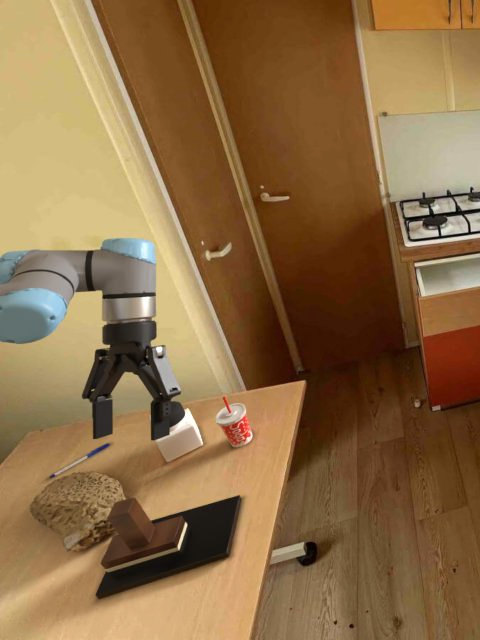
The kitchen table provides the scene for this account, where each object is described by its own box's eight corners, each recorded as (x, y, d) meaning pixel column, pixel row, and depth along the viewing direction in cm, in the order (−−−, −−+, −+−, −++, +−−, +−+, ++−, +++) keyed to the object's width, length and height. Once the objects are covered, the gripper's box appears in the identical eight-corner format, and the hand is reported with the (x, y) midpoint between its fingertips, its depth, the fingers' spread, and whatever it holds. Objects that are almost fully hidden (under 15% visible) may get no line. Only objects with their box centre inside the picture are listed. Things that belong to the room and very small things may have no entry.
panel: (98, 599, 73) (94, 595, 73) (127, 532, 83) (124, 527, 83) (229, 557, 79) (226, 552, 79) (241, 499, 89) (239, 494, 89)
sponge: (144, 521, 86) (114, 454, 96) (121, 509, 81) (91, 440, 90) (64, 581, 79) (39, 502, 88) (33, 572, 74) (10, 489, 83)
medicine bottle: (198, 427, 106) (180, 392, 100) (203, 445, 101) (185, 409, 96) (163, 444, 101) (142, 408, 96) (167, 463, 97) (146, 427, 91)
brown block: (107, 572, 76) (74, 532, 70) (119, 544, 80) (89, 504, 74) (179, 550, 79) (153, 510, 73) (187, 524, 83) (163, 484, 77)
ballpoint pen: (109, 444, 102) (107, 441, 101) (110, 445, 101) (108, 442, 101) (50, 478, 94) (48, 475, 93) (51, 480, 93) (49, 477, 93)
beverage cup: (225, 453, 99) (205, 411, 93) (229, 434, 104) (210, 392, 98) (255, 444, 101) (237, 402, 95) (257, 425, 106) (240, 384, 100)
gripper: (203, 316, 80) (205, 430, 78) (102, 322, 85) (103, 429, 84) (162, 320, 72) (164, 446, 71) (55, 326, 78) (55, 443, 76)
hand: (131, 437), depth 77 cm, fingers open, 13 cm apart
